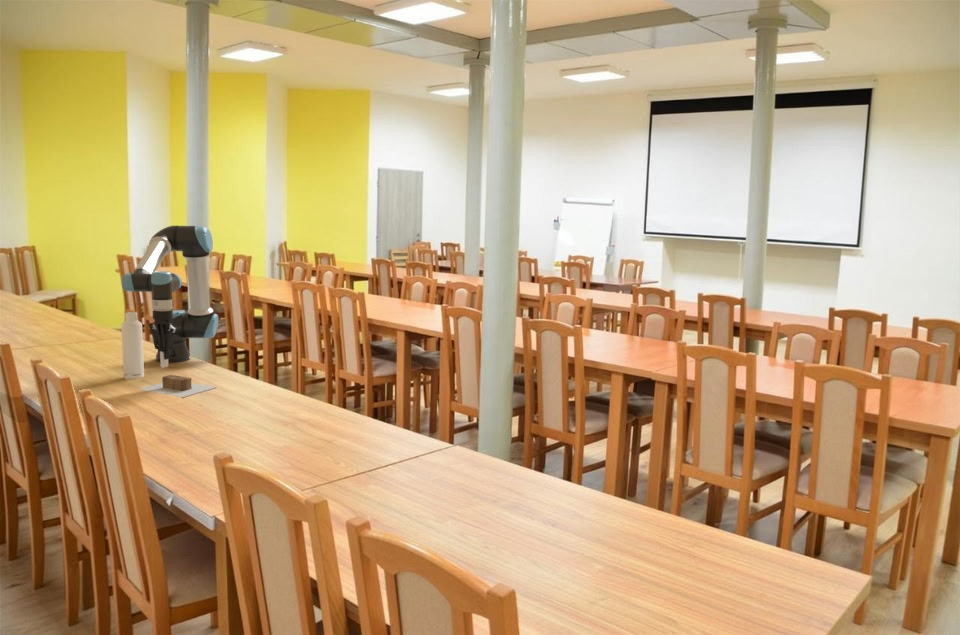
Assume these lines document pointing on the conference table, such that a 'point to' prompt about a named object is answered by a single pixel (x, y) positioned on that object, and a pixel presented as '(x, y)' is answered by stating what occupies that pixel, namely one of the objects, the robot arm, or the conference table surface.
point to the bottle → (132, 347)
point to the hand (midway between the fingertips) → (164, 366)
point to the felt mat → (195, 390)
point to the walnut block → (177, 382)
